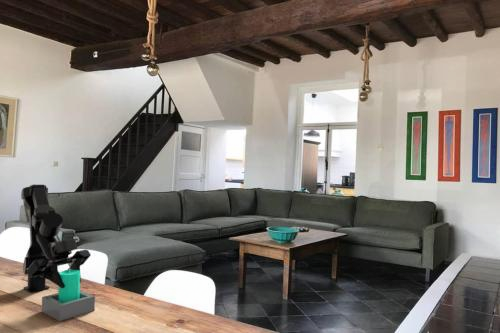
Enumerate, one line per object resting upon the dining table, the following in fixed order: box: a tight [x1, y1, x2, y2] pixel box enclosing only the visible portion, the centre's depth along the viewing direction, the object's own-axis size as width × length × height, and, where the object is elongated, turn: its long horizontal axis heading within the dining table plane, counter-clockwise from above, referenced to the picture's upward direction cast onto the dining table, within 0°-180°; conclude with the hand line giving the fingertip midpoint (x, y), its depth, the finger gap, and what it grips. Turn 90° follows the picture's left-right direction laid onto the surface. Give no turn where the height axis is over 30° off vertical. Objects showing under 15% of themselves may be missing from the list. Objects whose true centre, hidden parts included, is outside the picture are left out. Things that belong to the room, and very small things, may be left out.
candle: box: [58, 266, 81, 303], centre depth 120 cm, size 6×6×12 cm
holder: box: [41, 289, 96, 322], centre depth 120 cm, size 11×11×4 cm
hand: (71, 285), depth 119 cm, fingers closed on candle, 5 cm apart
